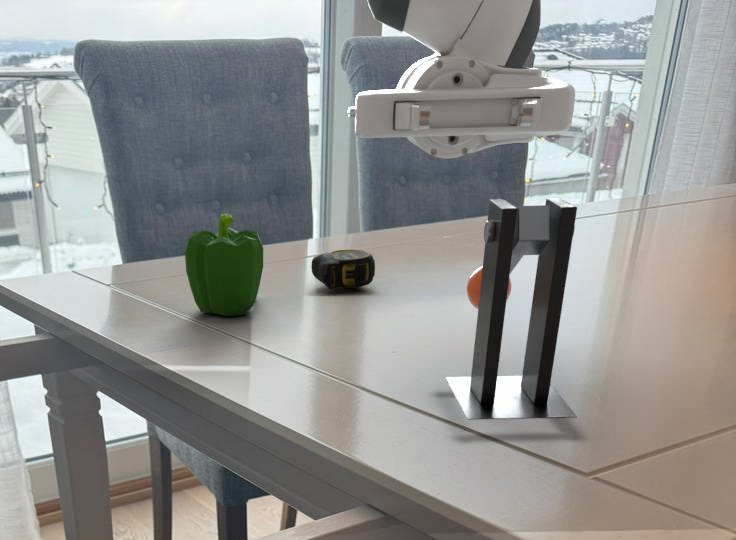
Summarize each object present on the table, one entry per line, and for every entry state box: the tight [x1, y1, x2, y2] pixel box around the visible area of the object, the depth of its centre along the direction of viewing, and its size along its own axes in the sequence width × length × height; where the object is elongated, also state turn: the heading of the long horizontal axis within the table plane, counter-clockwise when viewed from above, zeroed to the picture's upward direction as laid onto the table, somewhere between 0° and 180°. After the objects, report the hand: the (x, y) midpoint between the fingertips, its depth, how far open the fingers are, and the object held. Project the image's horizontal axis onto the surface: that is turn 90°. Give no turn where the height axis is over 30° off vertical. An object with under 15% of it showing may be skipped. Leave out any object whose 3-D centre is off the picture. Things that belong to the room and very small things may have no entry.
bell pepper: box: [184, 213, 264, 317], centre depth 98 cm, size 8×8×10 cm
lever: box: [466, 204, 550, 310], centre depth 71 cm, size 15×4×4 cm
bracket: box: [445, 197, 578, 420], centre depth 68 cm, size 10×8×15 cm
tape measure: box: [311, 249, 376, 290], centre depth 108 cm, size 7×7×4 cm
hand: (476, 116), depth 82 cm, fingers open, 8 cm apart
